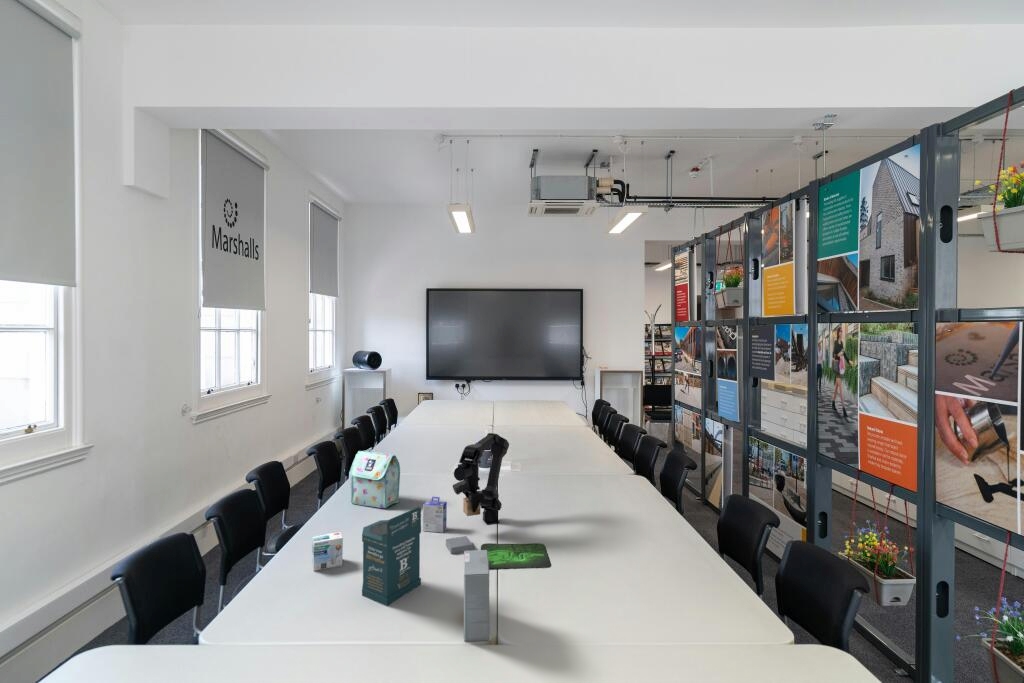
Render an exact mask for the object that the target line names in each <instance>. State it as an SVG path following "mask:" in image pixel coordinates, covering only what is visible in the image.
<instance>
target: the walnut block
mask: <svg viewBox="0 0 1024 683" xmlns="http://www.w3.org/2000/svg"><path fill="white" fill-rule="evenodd" d="M468 498H469V497H468ZM468 498H466V497H463V501H462V502H463V503H462V504H463V506H462V508H463V509H462V510H463V511H462V512H463V513H464V514H465V515H466V516H467V517H471V516H477V515H478V516H479V515H481V505H480V504H479V506H478V508H477V510H476V512H475V513H473V511H472V504H471V501H470V500H469V499H468Z"/></svg>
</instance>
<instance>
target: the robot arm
mask: <svg viewBox="0 0 1024 683" xmlns="http://www.w3.org/2000/svg"><path fill="white" fill-rule="evenodd" d="M509 447H510V442H509V441H508V439H506V438H504V437H503V436H500V435H499V434H497V433H494V432H488V433H487V435H485V436H484V437H483V438H482V439H480V440H479V441H477V442H475V443H474V444H473V443H471V444H468V445H466V446H465V447H464V449H463V451H462V452H461V455H460V459H459V462H458V463H459V464H457V467H456V468H455V469H454V471H453V477H454V479H455V480H457V481H458V482H456V483H453V484H452V490H453V491H454V493H455V494H456V495H458V496H459V495H461V494H464V496H465V498H468V497H469V498H468V499H469V500H470V501H471V504H472V511H473V513H475V512H476V510H477V508H478V506H479V504H480V509H483V511H482V521H483V523H484V524H486V525H492V524H493V525H494V524H499V523H500V520H499V511H501V509H502V505H503V504H502V502H501V500H500V499H499V495H500V494H499V492H498V482H499V477H500V473H501V468H502V463H503V462H502V461H503V458H504V457H505V455H507V453H508V450H509ZM489 448H490V453H491V455H492V457H491V461H490V468H489V471H488V472H489V473H488V478H487V481H486V482H487V483H486V486H485V487H484V488H483V489H482V490H481V486H479V481H481V477H480V476H479V471H480V470H479V468H480V467H479V464H480V463H481V460H480V459H481V458H482V457H483V453H484V452H486V450H487V449H489Z"/></svg>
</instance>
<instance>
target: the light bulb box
mask: <svg viewBox="0 0 1024 683" xmlns="http://www.w3.org/2000/svg"><path fill="white" fill-rule="evenodd" d="M311 540H312V544H311V546H312V547H311V565H312V570H313V572H315V571H320V570H328V569H333V568H337V567H338V568H339V567H342V566H343V553H344V552H343V548H344V547H343V546H344V544H343V540H344V538H343V535H342V532H341V531H337V532H332V533H325V534H321V535H313V536H312V539H311Z"/></svg>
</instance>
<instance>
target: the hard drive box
mask: <svg viewBox="0 0 1024 683" xmlns="http://www.w3.org/2000/svg"><path fill="white" fill-rule="evenodd" d="M463 553H464V554H463V555H464V556H463V558H464V559H463V641H464V642H478V641H481V642H482V641H490V569H489V562H488V551H487V550H481V549H478V550H477V549H476V550H475V549H473V550H471V551H464V552H463Z"/></svg>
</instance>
